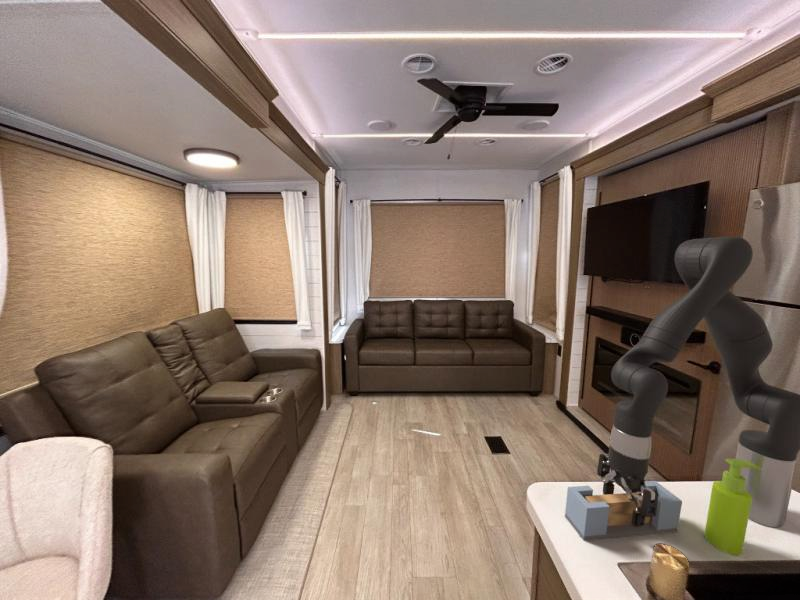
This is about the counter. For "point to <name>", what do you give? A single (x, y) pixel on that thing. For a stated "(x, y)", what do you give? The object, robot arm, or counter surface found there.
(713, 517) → the soap dispenser
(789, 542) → the counter surface
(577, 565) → the counter surface
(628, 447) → the robot arm
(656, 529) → the end caps
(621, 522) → the slat
